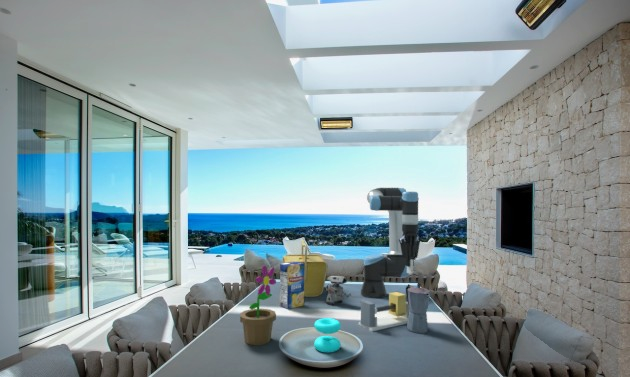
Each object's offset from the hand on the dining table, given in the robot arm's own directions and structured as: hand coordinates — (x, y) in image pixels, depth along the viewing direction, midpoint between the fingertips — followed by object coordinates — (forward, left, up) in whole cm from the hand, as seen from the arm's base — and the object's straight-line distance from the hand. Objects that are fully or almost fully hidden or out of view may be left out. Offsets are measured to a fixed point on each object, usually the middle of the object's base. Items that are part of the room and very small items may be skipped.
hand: (409, 273), depth 171 cm
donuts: (+53, +10, -22) cm, 58 cm away
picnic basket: (+20, -68, -22) cm, 74 cm away
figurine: (+17, -36, -22) cm, 45 cm away
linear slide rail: (+14, 0, -21) cm, 26 cm away
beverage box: (+40, -45, -22) cm, 64 cm away
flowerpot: (+73, -10, -22) cm, 77 cm away
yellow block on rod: (+8, 0, -18) cm, 20 cm away
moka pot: (+8, +12, -22) cm, 26 cm away
